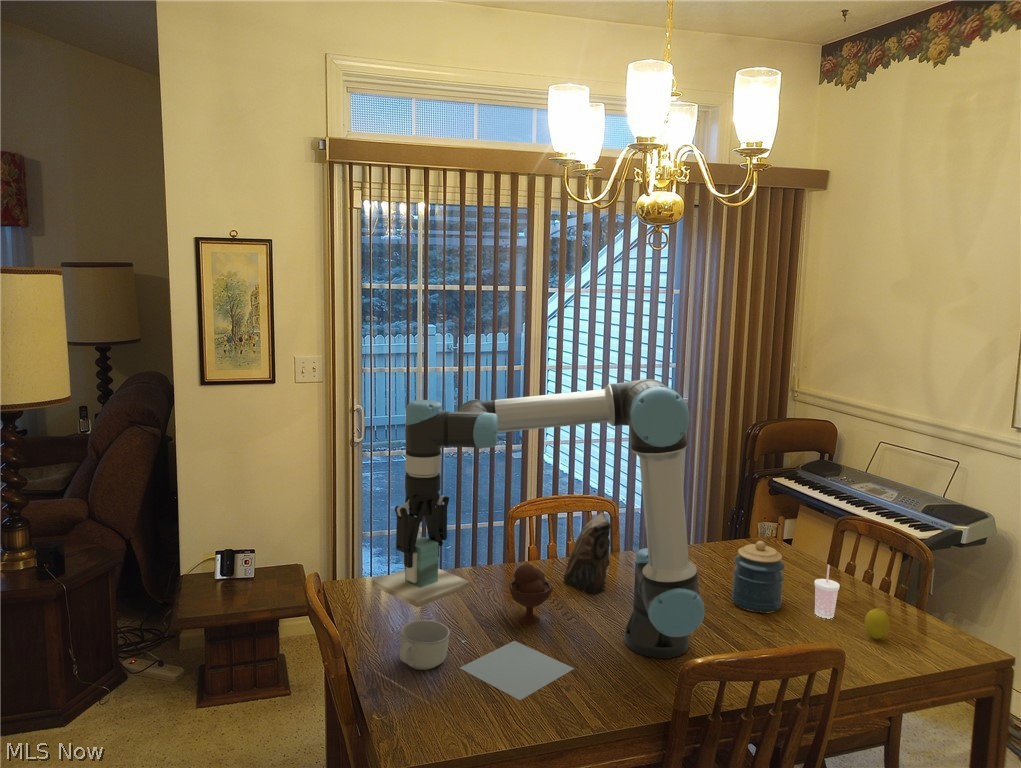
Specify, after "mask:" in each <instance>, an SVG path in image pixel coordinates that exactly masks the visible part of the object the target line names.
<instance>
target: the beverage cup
mask: <svg viewBox="0 0 1021 768" xmlns="http://www.w3.org/2000/svg"><path fill="white" fill-rule="evenodd" d="M826 568H827V571H826V578H817V579H815V580H814V581H813V582H814V588H815V589H814V590H815V591H814V615H815V614H816V615H817V616H819V617H822V618H827V619H830V618H833V617H835V611H836V604H837V599H838V592H839V589H840V583H838V582H837V581H835V580H833V579H829V578H830V577H829V576H830V569H831V568H830V564H827V567H826ZM817 616H816V617H817ZM833 619H834V618H833Z"/></svg>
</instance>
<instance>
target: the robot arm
mask: <svg viewBox="0 0 1021 768" xmlns="http://www.w3.org/2000/svg"><path fill="white" fill-rule="evenodd" d="M405 416H406V417H405V463H404V465H405V466H404V468H405V469H404V470H405V472H406V474H405V475H404V476H405V477H404V483H405V484H404V489H405V492H406V497H405V499H404V500H405V501H404V503H403V504H402V505H396V506H394V512H395V516H396V531H395V535H396V537H395V539H396V540H395V542H396V544H395V549H396V551H399V552H401V553H403V563H404V564H403V566H404V568H405V567H406V579H407V580H409V581H411V582H413V583H415V582H417V553H416V552H414V550H415V545H416V540H417V539H418V536H419V530H420V525H421V523H422V522H423V519H424V521H425V524H426V525H425V526H426V530H427V534H428V535H427V536H428V539H430V540H433V541H435V542H438V559H439V558H440V547H442V546H443V545H444V541H446V540H447V538H448V506H449V502H450V497H449V496H446V495H445V494H444V495H443V494H440V493H439V492H440V490H441V482H442V481H441V480H442V479H441V474H440V473H441V472H442V471H441V470H442V447H445V448H469V449H470V448H471V449H473V448H474V449H481V450H482V449H489V448H495V447H496V446H497V444H498V433H504V432H505V433H506V432H517V431H525V430H526V431H527V430H536V429H537V430H539V429H547V428H548V429H550V428H559V427H561V428H562V427H570V426H571V427H572V426H582V425H592V424H593V425H594V424H601V423H608V424H609V425H610V426H611V427H617V426H618V427H619V426H626V427H627V426H628V427H629V436H630V437H629V439H630V447H631V451H632V452H633V454H635V455H637V456H638V458H639V467H640V469H639V470H640V479H641V488H642V491H641V492H642V502H643V511H644V525H645V535H646V537H645V538H646V544H647V545H646V546H647V547H644V548H641V549H639V550H638V551H637V552H636V556H635V561H634V564H635V566H634V567H635V568H634V588H633V591H634V593H633V606H632V607H633V608H632V611H631V614H630V616H629V619H628V622H627V624H626V626H625V629H624V636H623V641H624V643H625V645H626V647H628V648H629V649H630V650H631V651H633V652H634V653H637V654H639V655H642V656H646V657H650V658H657V659H672V657H673V658H677V657H679V656H678V655H680V656H682V655H681V654H683V653H684V654H685V653H686V652H687V651H688V650H689V645H690V644H689V643H690V642H689V641H690V638H689V635H690V634H692V633H694V632H695V631H696V630H697V629H698V628H699V627H700V626H701V624H702V622H703V621H704V619H705V615H706V614H705V613H706V611H705V609H706V608H705V603H704V599H702V597H701V595H700V592H699V591H700V590H699V579H698V569H697V566H696V565H695V564H694V563H693V562H691V561H690V559H689V545H688V533H687V521H686V507H685V498H684V497H685V496H684V484H683V482H684V481H683V472H682V471H683V470H682V469H683V468H682V458H681V457H682V456H681V455H682V454H683V453H684V451H685V450H686V449H687V447H688V442H687V438H688V437H687V431H688V428H689V425H690V411H689V407H688V405H687V403H686V402H685V400H684V398H683V397H682V395H681V394H679V392H677V391H676V390H675V389H673V388H671V387H669V386H668V385H667V384H665V383H664V382H662V381H659V379H658V380H656V379H651V378H644V379H636V380H630V381H623V382H619V383H617V382H616V383H609V384H607V385H606V386H605V387H604V388H602V389H601V388H600V389H591V390H584V391H583V390H582V391H572V392H563V393H553V394H551V393H550V394H542V395H532V396H523V397H520V396H519V397H510V398H501V399H494V400H491V399H490V400H480V399H469V400H467V401H465V402H464V403H462V405H461V406H460V407H459V409H458V411H446V410H443V406H442V403H441V402H440V401H438V400H431V399H418V400H412V401H410V402H409V403H408V404H407V406H406V415H405ZM687 649H688V650H687ZM684 654H683V655H684ZM676 656H677V657H676Z"/></svg>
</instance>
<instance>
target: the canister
mask: <svg viewBox="0 0 1021 768" xmlns="http://www.w3.org/2000/svg"><path fill="white" fill-rule="evenodd" d="M737 553H738V554H737V555H735V556H734V559H733V562H735V567H734V568H733V571H732V573H733V583H732V590H731V600H733V601H732V603H733V602H734V603H735V604H737V605H738V606H740V607H742V608H745V609H749V610H753V611H759V612H760V611H761V612H771V611H776V610H778V609H779V608H780V609H781V606H782V603H783V597H782V596H783V594H782V593H783V585H784V584H783V582H784V579H785V577H784V574H783V571H784V570H785V567H786V564H785V563H784V562H783V560H782V559H783V555H782V554H781V553H780V552H779V551H777V549H775V548H774V547H771V546H768V545H766V543H765V542H764V541H763V540H758V541H756V543H755V544H754V543H752V544H751V543H749V544H747V545H744V546H742V547H740V548H739V549H738V550H737ZM734 603H733V604H734ZM735 604H734V605H735ZM738 606H737V607H738ZM740 607H739V608H740ZM742 608H741V609H742ZM780 609H779V610H780ZM779 610H778V611H779ZM776 612H777V611H776Z"/></svg>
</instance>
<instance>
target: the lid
mask: <svg viewBox="0 0 1021 768" xmlns="http://www.w3.org/2000/svg"><path fill="white" fill-rule="evenodd" d="M414 552H416V553H417V582H415V583H413V582H411V581H409V580H407V579H406V567H405V566H404V569H403V570H399V571H397V572H394V573H391V574H388V575H385V576H382V577H380V578H379V577H378V578H375V579H374V580H373V579H372V586H373V588H376V589H379V590H380V591H383V592H384V593H387V594H389V595H391V596H392V597H395V598H397V599H399V600H401V601H403V602H405V603H407V604H409V605H412V606H413V607H415V608H420V607H423V606H425V605H428V604H430V603H433V602H435V601H438V600H441V599H444V598H446V597H449V596H450V595H453V594H456V593H458V592H461V591H463V590H466V589H468V588H471V581H469V580H467V579H464V578H462V577H460V576H458V575H455V574H453V573H450V572H448V571H445V570H443V569H440V568H439V558H438V542H435V541H433V540H430V539H429V537H428V538H427V537H425V536H422V537H419V538H418V537H417V540H416V545H415V550H414Z"/></svg>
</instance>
